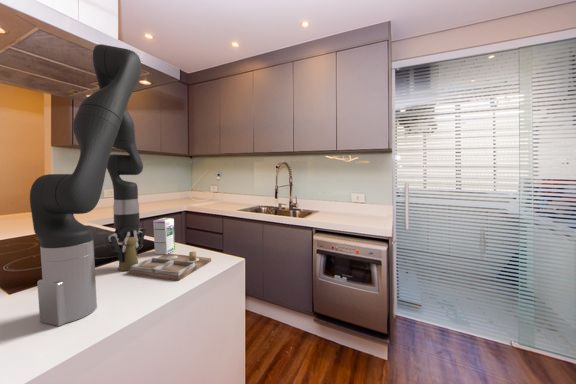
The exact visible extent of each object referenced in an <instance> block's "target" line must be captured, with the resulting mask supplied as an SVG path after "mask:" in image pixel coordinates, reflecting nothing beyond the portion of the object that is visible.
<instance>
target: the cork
mask: <svg viewBox="0 0 576 384" xmlns="http://www.w3.org/2000/svg"><path fill="white" fill-rule="evenodd" d="M119 242H120V243H123V242H124V241H119ZM126 242H127V245H125V246H126V249H125V252H126V256H125V262H124V263H121V262H119V261H118V262H119V263H118V270H119V271H121V272H123V271H128V270H130V269H131V266H133V265H135V264H138V263H139V260H138V255H137V254H136V248H135V244H136V242H137V240H136V238H135V237H129V239H128V241H126ZM120 246H121V248H122V245H120Z"/></svg>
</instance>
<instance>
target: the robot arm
mask: <svg viewBox="0 0 576 384" xmlns="http://www.w3.org/2000/svg"><path fill="white" fill-rule="evenodd" d="M92 63H93V68H94V73H95V77H96V80H97V83H98V88H99V89H98V90H96V91H95V92H93V93H92V94H90V95H88V96H87V97H86V98H85V99H83V100H82V102H81V103H80V105H79V107H78V109H77V111H76V114H75V115H74V116H75V117H74V118H73V122H72V131H73V133H74V138H75V140H76V143H77V144H78V146H79V147H78V148H79V152H80V153H79V158H78V161H77V163H76V167H75V168H74V170H73V172H72V173H50V174H49V173H48V174H44V175H41V176H39V177H38V178H36V179H35V180H34V181H33V183H32V185H31V187H30V191H29V205H30V211H31V218H32V226H33V227H32V228H33V232H34V234H35V236H36V237H37V239H38V241H39V245H40V247H39V248H40V263H41V278H42V279H38V281H37V297H38V310H39V313H38V315H39V322H40V323H45V324H49V325H52V326H55V327H56V326H57V327H60V326H62V325H64V324H67V323H70V322H74V321H78V320H80V319H82V318H85V317H86V316H89V315H90V314H92V313H93V312H94V311H95V310H97V308H98V304H97V302H98V301H97V285H96V284H97V283H96V281H97V280H96V279H97V278H96V265H95V263H96V262H95V246H94V245H95V243H94V230H93V229H92V228H91V227H90V226H87V225H86V224H83V223H81V222H80V221H78V219H76V218H75V215H81V214H82V215H83V214H87V213H90V212H92V211H93V210H94V209H95V208H96V207H97V205H98V203H99V202H100V200H101V196H102V192H103V188H104V182H105V178H106V172H107V171H108V174H109V177H110V180H111V182H112V189H113V204H112V205H113V207H112V209H113V212H112V213H113V226H114V227H115V230H114V233H113V234H111V235H107V236H106V237H105V238H106V241H107V242H108V245H109V248H110V251H111V252H116V253H117V261H118V262H121V263H124V262H125V256H126V252H125V249H126V246H125V245H127V242H126V241H128V239H129V237H135V238H136V240H137V242H136V244H135V248H136V254H137V256H139V255H138V254H139V251H138V248H139V246H140V245H141V246H142V245H143V244H144V238H145V235H146V231H147V229H146V228H144V227H142V228H141V227H139V225H140V224H141V223H140V219H141V218H140V203H139V194H138V193H139V192H138V191H139V190H138V184H137V183H136V182H133V181H128V180H124V179H123V178H121V176H138V175H140V174H141V173H142V172H143V169H144V164H143V161H142V158H141V156H140V153H139V151H138V148H137V143H136V131H135V130H136V129H135V124H134V120H133V118H132V116H131V115H130V113H129V111H128V110H127V106H128V103H129V101H130V98H131V97H132V95H133V92H134V90H135V89H136V87H137V85H138V82H139V80H140V77H141V73H142V61H141V59H140V56H139V55H138V54H137V53H136V52H135V51H133V50H130V49H128V48H123V47H119V46H114V45H113V46H112V45H107V44H96V45H95V46H94V48H93V49H92ZM113 148H115V149H118V150H122V151H125V152H127V153H128V154H120V153H119V154H118V153H117V154H116V153H114V154H113V153H112V149H113ZM119 241H124V242H123V243H120V242H119ZM120 245H122V248H121V246H120Z"/></svg>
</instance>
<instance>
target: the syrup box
mask: <svg viewBox="0 0 576 384" xmlns="http://www.w3.org/2000/svg"><path fill="white" fill-rule="evenodd" d="M174 219H175V218H174V217H162V218H159V219H156V220H155V219H154V220H153V224H152V225H153V243H154V254H155V255H163V254H168V253H169V254H171V253H173V252H175V251H176V240H175V239H176V237H175V220H174ZM174 250H175V251H174ZM172 251H173V252H172ZM170 252H171V253H170Z"/></svg>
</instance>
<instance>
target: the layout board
mask: <svg viewBox="0 0 576 384" xmlns="http://www.w3.org/2000/svg"><path fill="white" fill-rule="evenodd" d="M211 262H212V257H206V256H205V257H203V256H197V251H190V252H189V253H188V255H186V254H185V255H184V254H176V253H175V254H174V253H169V254H165V255H163V254H162V256H161V255H160V256H157V257H150V258H148V259H145V260H143V261H140V262H138V264H135V265H133V266H131V269H130V270H127V273H128V274H129V275H136V276H143V277H150V278H157V279H165V280H171V281H181V280H183V279H184V278H186V277H187V276H189V275H191V274H192V273H194V272H196V271H197V270H199V269H200V268H202V267H204V266H206V265H207V264H209V263H211Z"/></svg>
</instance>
